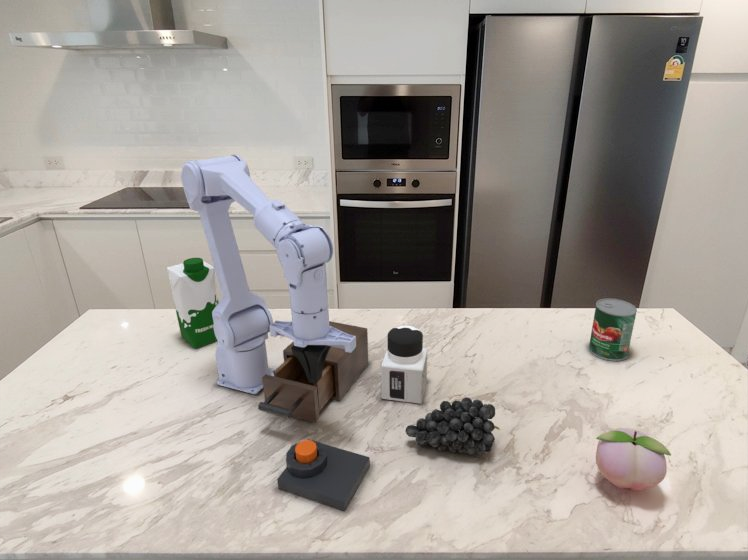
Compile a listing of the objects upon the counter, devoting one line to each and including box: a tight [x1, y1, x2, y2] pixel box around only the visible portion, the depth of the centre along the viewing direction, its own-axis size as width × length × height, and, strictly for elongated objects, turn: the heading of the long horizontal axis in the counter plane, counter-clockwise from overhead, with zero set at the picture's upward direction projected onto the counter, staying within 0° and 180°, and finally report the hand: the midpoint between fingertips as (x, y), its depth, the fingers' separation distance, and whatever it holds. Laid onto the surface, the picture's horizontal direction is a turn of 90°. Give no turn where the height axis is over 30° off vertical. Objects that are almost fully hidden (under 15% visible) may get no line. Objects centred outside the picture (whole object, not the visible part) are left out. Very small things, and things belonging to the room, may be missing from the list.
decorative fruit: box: [595, 427, 672, 491], centre depth 70 cm, size 9×8×10 cm
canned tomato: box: [588, 297, 638, 362], centre depth 103 cm, size 8×8×11 cm
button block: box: [276, 439, 371, 512], centre depth 73 cm, size 12×9×4 cm
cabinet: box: [282, 320, 369, 402], centre depth 96 cm, size 14×12×9 cm
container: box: [380, 325, 428, 404], centre depth 91 cm, size 8×8×13 cm
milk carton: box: [166, 257, 220, 350], centre depth 109 cm, size 9×9×20 cm
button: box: [295, 439, 317, 464], centre depth 73 cm, size 3×3×2 cm
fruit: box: [405, 397, 501, 456], centre depth 78 cm, size 9×8×15 cm
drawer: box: [257, 356, 336, 423], centre depth 87 cm, size 17×10×7 cm, turn 158°
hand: (315, 379), depth 79 cm, fingers closed
